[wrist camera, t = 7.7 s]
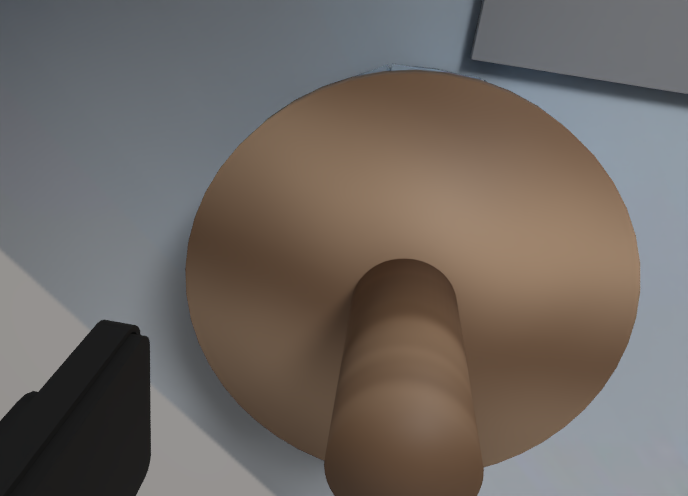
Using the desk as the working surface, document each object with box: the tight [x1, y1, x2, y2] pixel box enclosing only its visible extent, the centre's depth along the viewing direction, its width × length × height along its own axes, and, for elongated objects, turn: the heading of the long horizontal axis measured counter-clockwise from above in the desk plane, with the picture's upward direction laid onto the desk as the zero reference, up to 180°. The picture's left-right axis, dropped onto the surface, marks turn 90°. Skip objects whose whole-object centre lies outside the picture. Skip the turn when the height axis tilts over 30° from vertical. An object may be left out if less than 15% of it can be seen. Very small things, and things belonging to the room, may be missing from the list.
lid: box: [185, 70, 640, 496], centre depth 14 cm, size 12×12×7 cm
